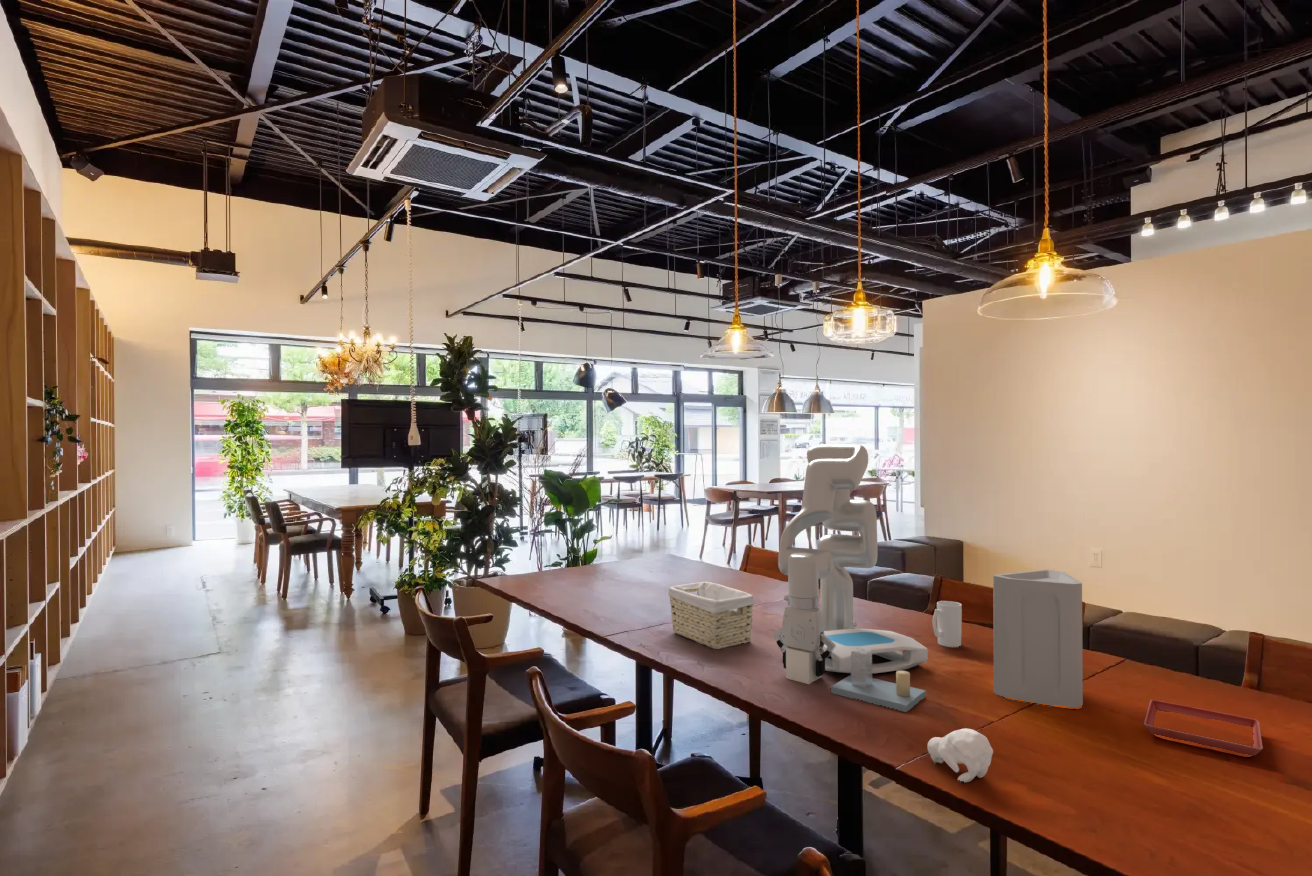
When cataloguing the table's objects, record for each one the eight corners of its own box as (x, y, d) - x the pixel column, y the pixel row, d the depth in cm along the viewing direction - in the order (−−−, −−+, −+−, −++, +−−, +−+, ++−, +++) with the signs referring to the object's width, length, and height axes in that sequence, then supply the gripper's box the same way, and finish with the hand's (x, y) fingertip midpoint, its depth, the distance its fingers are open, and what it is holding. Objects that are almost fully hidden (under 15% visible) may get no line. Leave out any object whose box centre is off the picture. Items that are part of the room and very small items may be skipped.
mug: (948, 639, 206) (948, 600, 206) (967, 646, 200) (966, 604, 200) (923, 644, 201) (923, 603, 202) (942, 650, 195) (942, 608, 195)
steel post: (857, 680, 167) (857, 648, 167) (872, 684, 164) (871, 651, 164) (851, 684, 164) (851, 651, 164) (865, 688, 161) (865, 654, 161)
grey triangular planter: (1049, 716, 149) (1048, 587, 149) (992, 693, 162) (991, 575, 163) (1107, 703, 156) (1106, 580, 156) (1048, 682, 170) (1047, 569, 170)
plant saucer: (1150, 712, 151) (1150, 697, 151) (1258, 734, 140) (1258, 718, 140) (1143, 740, 137) (1143, 724, 137) (1263, 767, 126) (1263, 749, 126)
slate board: (852, 679, 172) (852, 653, 172) (925, 696, 160) (925, 669, 160) (831, 692, 163) (830, 665, 163) (906, 712, 151) (906, 682, 151)
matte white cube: (798, 672, 178) (798, 642, 178) (821, 677, 173) (821, 647, 173) (786, 678, 173) (785, 648, 173) (808, 684, 168) (808, 653, 169)
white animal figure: (970, 738, 118) (915, 720, 128) (974, 790, 117) (919, 767, 127) (995, 731, 120) (939, 714, 131) (999, 781, 120) (943, 760, 130)
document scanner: (929, 667, 180) (929, 643, 180) (841, 678, 169) (840, 652, 169) (875, 647, 199) (875, 625, 199) (793, 656, 189) (793, 633, 189)
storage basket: (757, 643, 203) (756, 593, 203) (714, 652, 194) (714, 601, 194) (707, 625, 223) (707, 580, 223) (666, 633, 214) (666, 586, 214)
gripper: (765, 600, 176) (766, 667, 176) (828, 610, 165) (828, 683, 164) (780, 595, 182) (781, 660, 181) (842, 605, 170) (842, 675, 170)
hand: (803, 671), depth 173 cm, fingers open, 8 cm apart
